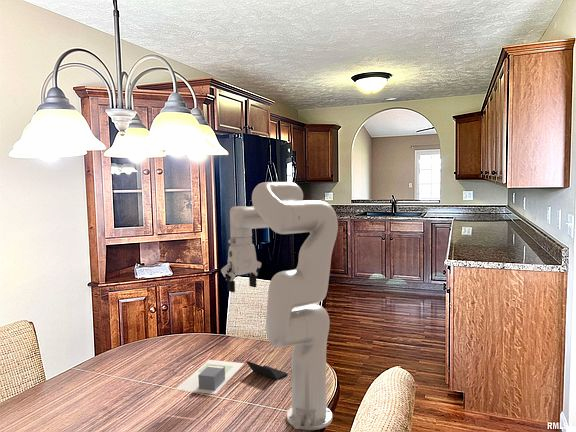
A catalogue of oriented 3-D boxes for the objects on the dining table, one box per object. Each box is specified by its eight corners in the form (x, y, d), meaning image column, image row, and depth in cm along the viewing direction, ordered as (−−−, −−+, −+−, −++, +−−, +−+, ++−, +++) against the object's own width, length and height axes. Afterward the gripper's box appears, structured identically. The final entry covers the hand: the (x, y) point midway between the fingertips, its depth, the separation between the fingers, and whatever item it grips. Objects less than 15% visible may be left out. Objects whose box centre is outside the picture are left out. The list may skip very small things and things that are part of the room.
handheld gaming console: (290, 368, 148) (277, 351, 143) (283, 388, 143) (270, 371, 138) (263, 366, 154) (249, 350, 149) (255, 385, 150) (241, 369, 144)
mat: (215, 395, 133) (215, 393, 133) (175, 390, 137) (175, 388, 137) (244, 364, 156) (244, 363, 156) (208, 360, 160) (208, 359, 160)
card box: (214, 390, 135) (214, 376, 135) (198, 388, 137) (198, 374, 137) (225, 379, 143) (224, 366, 143) (210, 377, 145) (209, 364, 144)
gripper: (227, 244, 144) (229, 295, 145) (266, 239, 156) (267, 286, 157) (214, 243, 149) (216, 291, 150) (253, 238, 161) (254, 283, 162)
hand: (242, 289), depth 154 cm, fingers open, 9 cm apart
